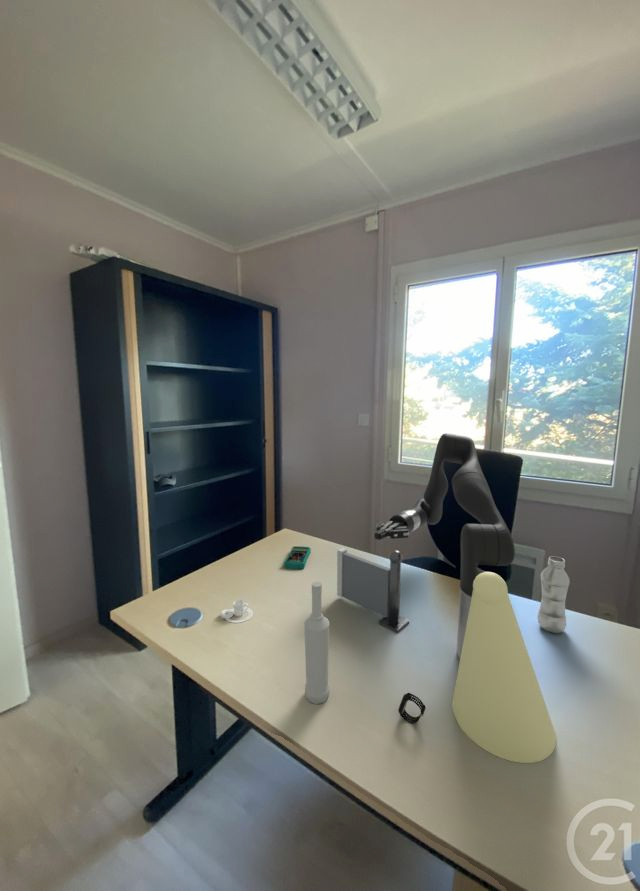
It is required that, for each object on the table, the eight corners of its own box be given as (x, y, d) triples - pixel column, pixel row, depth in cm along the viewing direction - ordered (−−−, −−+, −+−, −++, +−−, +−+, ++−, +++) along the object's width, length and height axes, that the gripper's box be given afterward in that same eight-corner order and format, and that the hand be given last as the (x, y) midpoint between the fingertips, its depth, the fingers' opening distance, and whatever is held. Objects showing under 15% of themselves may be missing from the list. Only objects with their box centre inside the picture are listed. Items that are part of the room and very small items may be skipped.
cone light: (471, 669, 85) (480, 524, 81) (565, 714, 73) (581, 546, 68) (421, 741, 68) (428, 560, 63) (533, 818, 55) (552, 600, 51)
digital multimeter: (283, 569, 136) (283, 561, 135) (292, 552, 151) (292, 545, 150) (303, 571, 135) (303, 563, 134) (310, 553, 150) (310, 546, 149)
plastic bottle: (571, 636, 97) (578, 564, 94) (545, 636, 97) (551, 564, 94) (556, 621, 103) (562, 554, 101) (531, 621, 103) (537, 553, 101)
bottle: (315, 681, 82) (315, 575, 79) (334, 693, 79) (334, 583, 75) (300, 696, 78) (298, 585, 75) (318, 709, 75) (318, 593, 71)
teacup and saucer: (217, 621, 104) (216, 608, 104) (230, 606, 112) (229, 593, 112) (245, 626, 102) (245, 612, 102) (257, 610, 110) (256, 597, 110)
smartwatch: (407, 707, 75) (407, 684, 75) (427, 724, 71) (428, 701, 70) (393, 717, 73) (393, 694, 72) (414, 736, 69) (414, 712, 68)
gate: (390, 614, 105) (392, 565, 103) (386, 618, 103) (387, 568, 101) (342, 592, 117) (342, 547, 115) (337, 595, 115) (337, 550, 113)
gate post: (409, 623, 103) (411, 550, 100) (397, 633, 99) (399, 557, 96) (390, 614, 107) (392, 544, 104) (378, 623, 103) (380, 550, 100)
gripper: (389, 508, 133) (360, 520, 120) (422, 516, 124) (395, 530, 111) (388, 528, 134) (359, 542, 121) (422, 537, 125) (394, 554, 112)
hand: (376, 536), depth 116 cm, fingers closed
